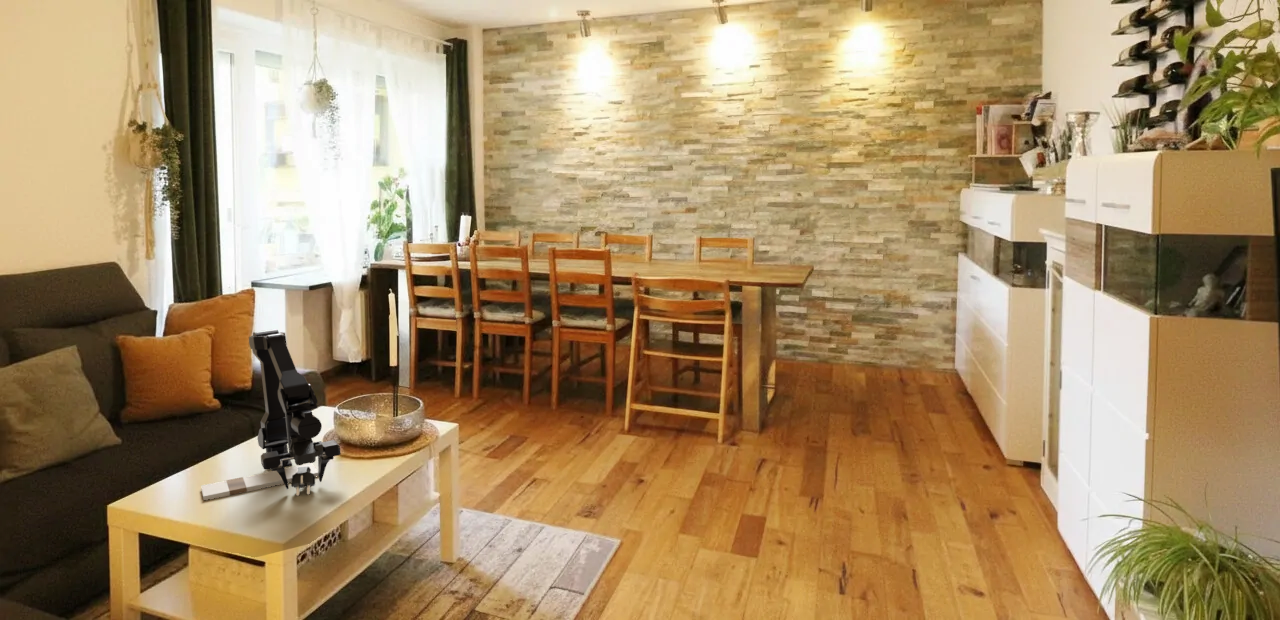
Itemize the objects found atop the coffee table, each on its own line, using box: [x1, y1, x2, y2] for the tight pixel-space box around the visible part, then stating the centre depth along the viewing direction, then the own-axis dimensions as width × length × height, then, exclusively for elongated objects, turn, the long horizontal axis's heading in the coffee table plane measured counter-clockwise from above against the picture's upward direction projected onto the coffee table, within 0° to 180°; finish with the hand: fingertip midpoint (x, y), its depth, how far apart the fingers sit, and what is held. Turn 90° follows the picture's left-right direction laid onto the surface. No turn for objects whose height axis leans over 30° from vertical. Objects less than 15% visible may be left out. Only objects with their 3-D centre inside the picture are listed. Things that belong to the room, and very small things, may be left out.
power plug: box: [290, 466, 316, 497], centre depth 205 cm, size 6×8×12 cm
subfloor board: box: [200, 462, 318, 501], centre depth 209 cm, size 8×28×1 cm, turn 123°
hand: (304, 484), depth 204 cm, fingers open, 8 cm apart
